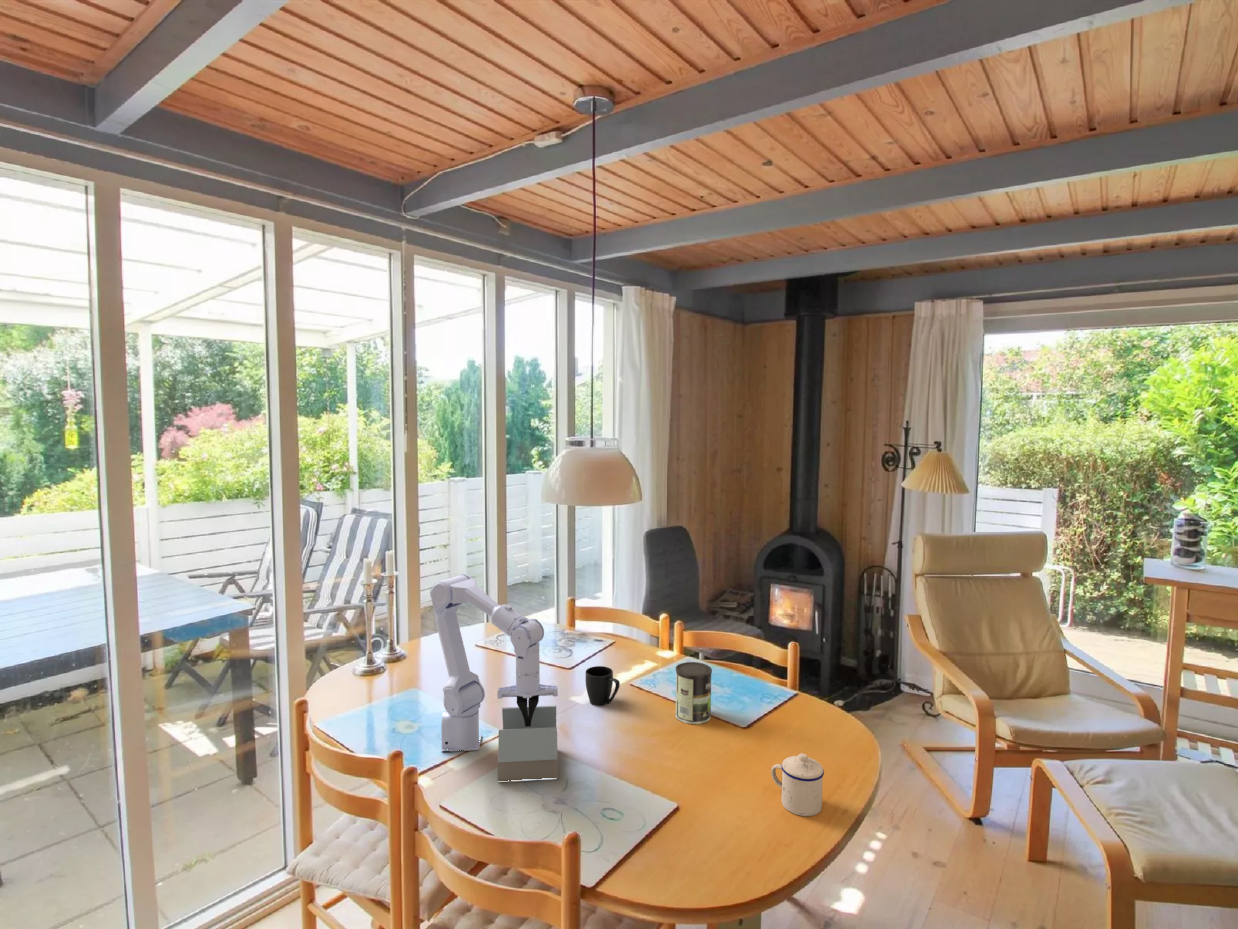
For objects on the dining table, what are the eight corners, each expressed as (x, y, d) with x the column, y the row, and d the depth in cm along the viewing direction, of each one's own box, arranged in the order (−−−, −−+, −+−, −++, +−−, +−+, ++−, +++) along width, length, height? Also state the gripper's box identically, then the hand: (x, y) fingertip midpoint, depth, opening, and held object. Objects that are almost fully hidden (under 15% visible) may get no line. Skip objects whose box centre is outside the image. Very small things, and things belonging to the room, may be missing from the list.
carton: (497, 782, 154) (497, 762, 153) (502, 751, 167) (502, 733, 167) (557, 779, 155) (557, 759, 155) (557, 749, 169) (557, 730, 168)
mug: (607, 715, 188) (607, 683, 187) (579, 701, 196) (579, 671, 196) (627, 706, 194) (627, 675, 193) (599, 693, 202) (600, 663, 201)
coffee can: (712, 709, 192) (712, 663, 191) (709, 726, 182) (710, 677, 181) (677, 706, 194) (677, 660, 193) (672, 722, 184) (673, 674, 183)
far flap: (502, 708, 165) (502, 707, 165) (503, 730, 168) (503, 728, 168) (556, 706, 166) (556, 705, 167) (556, 727, 169) (556, 726, 169)
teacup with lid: (829, 804, 146) (831, 754, 145) (811, 823, 139) (813, 771, 138) (780, 783, 154) (781, 736, 153) (761, 801, 147) (762, 751, 146)
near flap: (498, 761, 153) (498, 762, 152) (498, 729, 154) (498, 730, 154) (556, 758, 154) (556, 759, 154) (556, 727, 156) (556, 727, 155)
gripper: (496, 678, 154) (496, 733, 156) (557, 676, 156) (557, 731, 157) (498, 667, 161) (499, 720, 163) (557, 664, 163) (557, 717, 164)
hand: (528, 724), depth 160 cm, fingers closed
